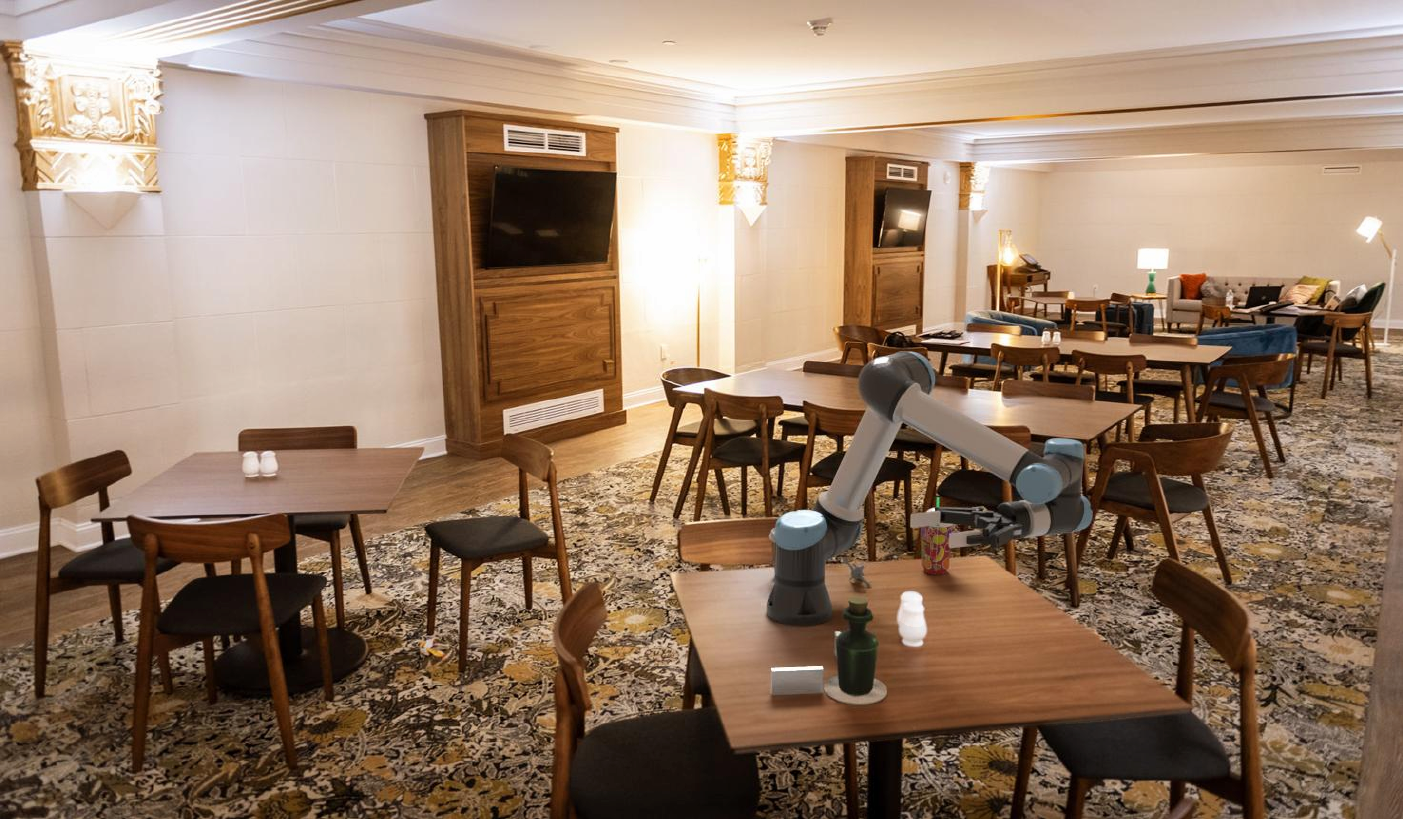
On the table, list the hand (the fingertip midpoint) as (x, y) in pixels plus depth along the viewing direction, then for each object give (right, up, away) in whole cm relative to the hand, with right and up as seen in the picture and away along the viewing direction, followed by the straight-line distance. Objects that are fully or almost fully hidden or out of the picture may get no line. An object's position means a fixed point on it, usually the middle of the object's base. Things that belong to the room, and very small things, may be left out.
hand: (929, 530), depth 188 cm
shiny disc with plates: (-17, -30, +1) cm, 35 cm away
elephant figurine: (-6, -20, +56) cm, 60 cm away
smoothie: (+16, -19, +64) cm, 68 cm away
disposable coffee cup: (-22, -20, +61) cm, 68 cm away
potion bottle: (-15, -30, -1) cm, 34 cm away
